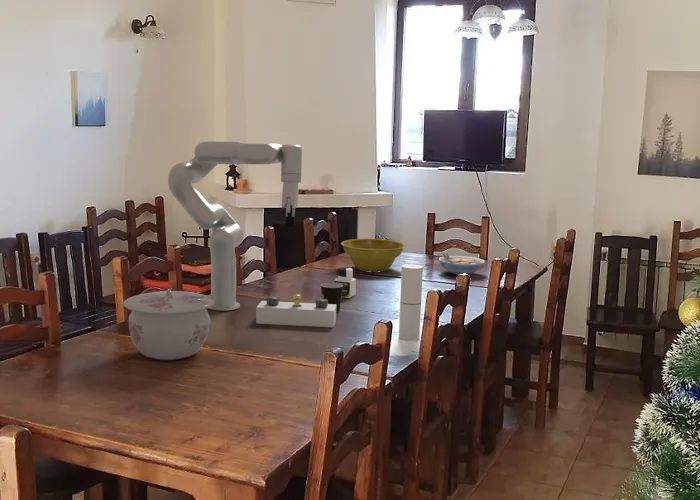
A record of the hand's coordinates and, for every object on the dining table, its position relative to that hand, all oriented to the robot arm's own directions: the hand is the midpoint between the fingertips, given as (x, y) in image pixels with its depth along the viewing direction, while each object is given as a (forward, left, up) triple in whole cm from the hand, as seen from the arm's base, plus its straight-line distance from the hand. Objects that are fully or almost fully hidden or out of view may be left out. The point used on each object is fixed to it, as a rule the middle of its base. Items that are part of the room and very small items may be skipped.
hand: (290, 226), depth 285 cm
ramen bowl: (+72, +92, -33) cm, 122 cm away
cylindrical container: (+46, -26, -33) cm, 62 cm away
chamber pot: (-28, -58, -33) cm, 73 cm away
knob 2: (+14, -13, -31) cm, 36 cm away
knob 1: (-4, -13, -31) cm, 34 cm away
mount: (+5, -13, -33) cm, 36 cm away
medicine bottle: (+19, +33, -33) cm, 51 cm away
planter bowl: (+28, +93, -33) cm, 103 cm away
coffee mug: (+16, +8, -33) cm, 38 cm away
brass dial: (+5, -13, -27) cm, 30 cm away
